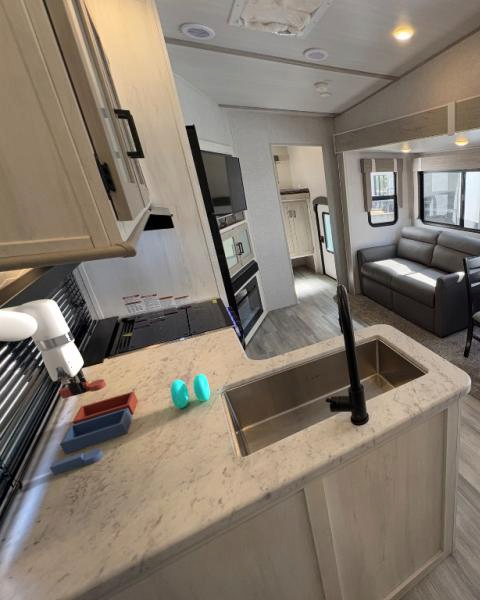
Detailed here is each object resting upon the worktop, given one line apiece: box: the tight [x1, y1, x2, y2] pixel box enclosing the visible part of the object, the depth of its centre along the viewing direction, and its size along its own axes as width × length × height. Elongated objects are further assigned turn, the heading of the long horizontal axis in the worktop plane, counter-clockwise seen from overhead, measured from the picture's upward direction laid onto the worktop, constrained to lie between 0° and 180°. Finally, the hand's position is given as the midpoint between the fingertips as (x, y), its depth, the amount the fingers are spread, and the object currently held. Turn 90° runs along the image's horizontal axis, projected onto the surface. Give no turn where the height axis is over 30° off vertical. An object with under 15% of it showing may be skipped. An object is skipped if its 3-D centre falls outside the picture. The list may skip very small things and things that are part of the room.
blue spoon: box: [49, 448, 104, 476], centre depth 88 cm, size 10×4×3 cm, turn 122°
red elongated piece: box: [58, 378, 107, 399], centre depth 97 cm, size 10×4×3 cm, turn 121°
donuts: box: [170, 373, 211, 409], centre depth 111 cm, size 10×10×10 cm
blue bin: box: [59, 408, 133, 455], centre depth 99 cm, size 15×9×4 cm, turn 122°
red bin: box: [72, 390, 139, 425], centre depth 107 cm, size 15×9×4 cm, turn 122°
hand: (81, 391), depth 97 cm, fingers closed on red elongated piece
